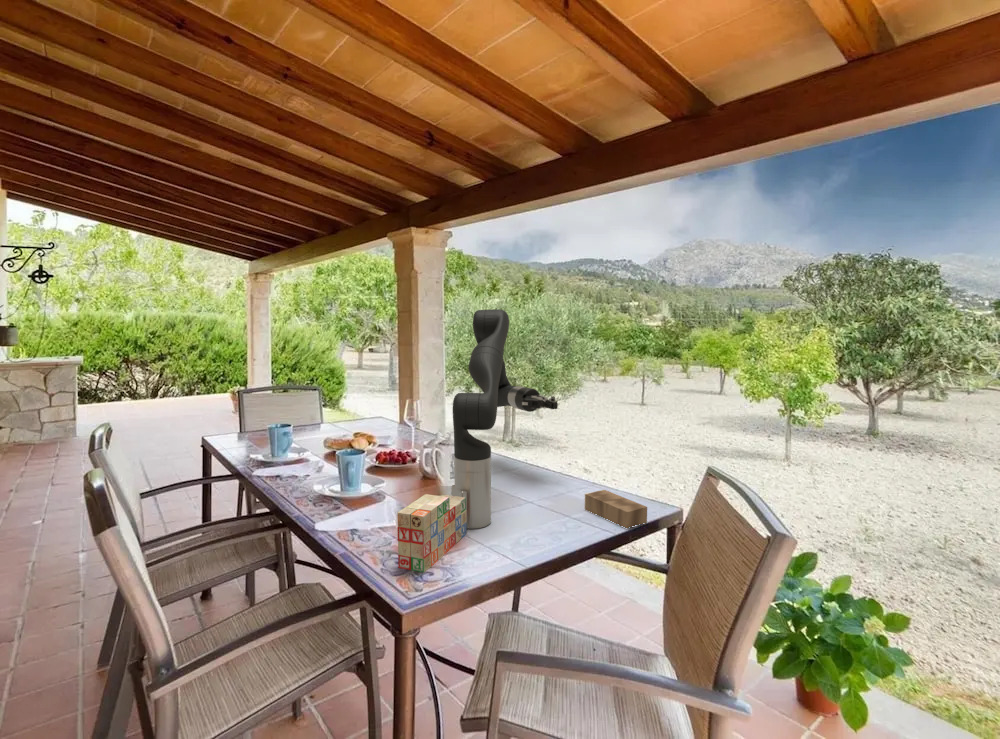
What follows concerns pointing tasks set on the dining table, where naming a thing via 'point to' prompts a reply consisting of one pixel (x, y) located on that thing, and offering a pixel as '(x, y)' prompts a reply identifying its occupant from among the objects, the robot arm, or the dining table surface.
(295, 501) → the dining table surface
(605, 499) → the walnut block
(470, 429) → the robot arm
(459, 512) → the stack of blocks
